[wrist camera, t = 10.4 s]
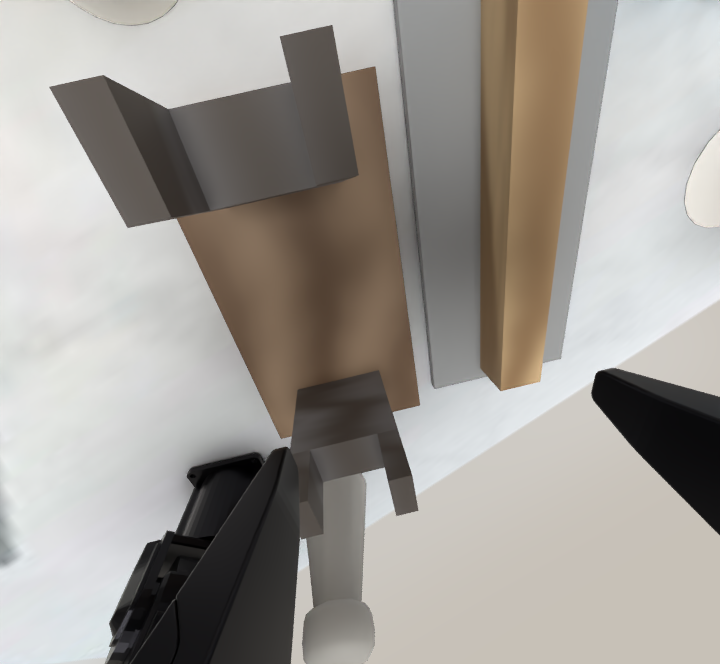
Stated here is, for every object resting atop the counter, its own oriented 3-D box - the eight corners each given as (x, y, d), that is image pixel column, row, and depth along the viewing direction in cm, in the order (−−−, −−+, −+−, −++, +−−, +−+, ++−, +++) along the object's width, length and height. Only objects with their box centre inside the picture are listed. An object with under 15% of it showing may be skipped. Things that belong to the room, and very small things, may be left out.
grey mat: (432, 384, 24) (434, 388, 24) (391, -16, 13) (394, -25, 13) (555, 355, 24) (560, 358, 24) (618, -66, 13) (630, -76, 13)
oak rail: (480, 368, 23) (500, 391, 21) (480, -13, 13) (521, -65, 10) (515, 359, 23) (540, 381, 21) (542, -27, 13) (598, -81, 11)
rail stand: (282, 429, 25) (260, 565, 16) (142, 124, 14) (-148, 20, 5) (416, 397, 25) (469, 513, 16) (371, 73, 15) (450, -107, 6)
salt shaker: (371, 449, 27) (407, 643, 15) (351, 488, 29) (370, 683, 18) (311, 440, 26) (302, 646, 14) (295, 481, 28) (276, 689, 16)
